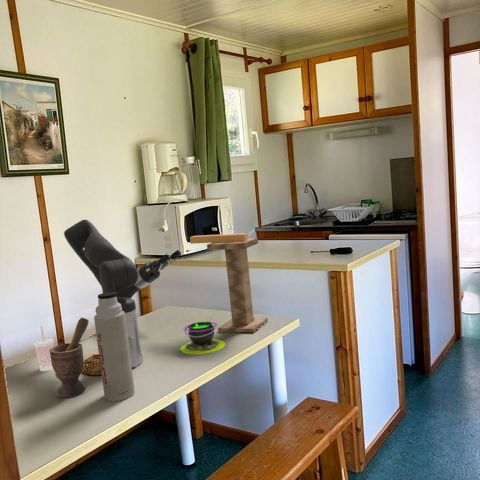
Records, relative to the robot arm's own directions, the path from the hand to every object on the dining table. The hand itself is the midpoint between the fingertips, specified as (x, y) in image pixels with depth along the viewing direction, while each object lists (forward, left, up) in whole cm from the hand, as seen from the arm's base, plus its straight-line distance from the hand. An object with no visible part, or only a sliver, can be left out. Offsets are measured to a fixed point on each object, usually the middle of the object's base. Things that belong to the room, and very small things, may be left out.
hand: (174, 253), depth 205 cm
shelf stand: (-12, -22, -28) cm, 38 cm away
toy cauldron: (-30, -6, -29) cm, 42 cm away
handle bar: (-9, -17, +4) cm, 19 cm away
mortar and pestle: (-54, +31, -28) cm, 68 cm away
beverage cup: (-31, +44, -28) cm, 61 cm away
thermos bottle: (-62, +18, -28) cm, 71 cm away
